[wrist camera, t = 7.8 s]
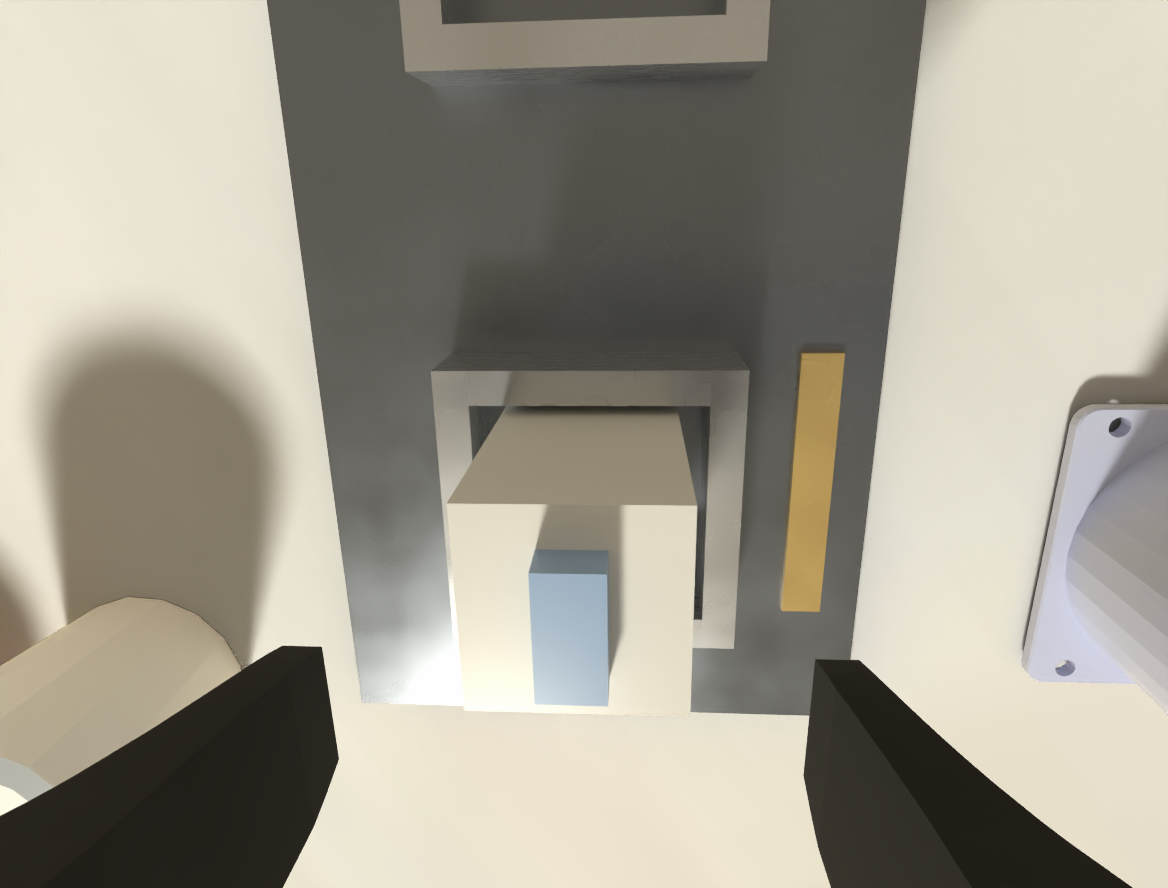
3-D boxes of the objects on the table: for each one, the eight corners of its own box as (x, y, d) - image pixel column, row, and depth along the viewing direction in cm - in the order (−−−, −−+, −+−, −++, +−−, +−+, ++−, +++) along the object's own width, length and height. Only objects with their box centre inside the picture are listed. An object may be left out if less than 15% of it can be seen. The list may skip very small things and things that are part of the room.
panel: (964, -490, 13) (1052, -675, 11) (834, 693, 22) (864, 768, 19) (230, -434, 14) (131, -589, 12) (373, 681, 23) (336, 750, 20)
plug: (674, 393, 18) (701, 527, 11) (671, 539, 19) (694, 749, 12) (513, 393, 18) (433, 524, 11) (521, 537, 20) (454, 741, 12)
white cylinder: (17, 590, 22) (-239, 754, 16) (226, 567, 22) (49, 729, 15) (96, 769, 25) (-102, 980, 18) (289, 754, 24) (157, 968, 17)
